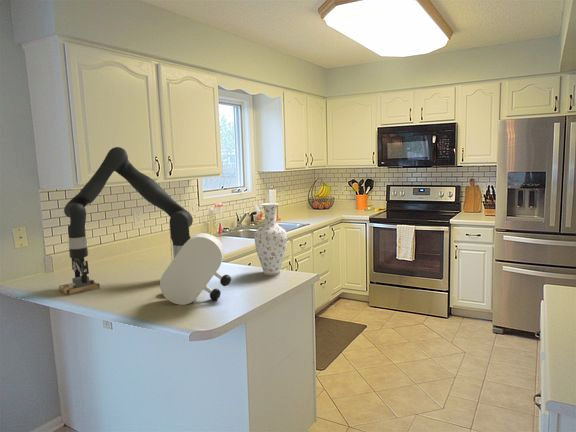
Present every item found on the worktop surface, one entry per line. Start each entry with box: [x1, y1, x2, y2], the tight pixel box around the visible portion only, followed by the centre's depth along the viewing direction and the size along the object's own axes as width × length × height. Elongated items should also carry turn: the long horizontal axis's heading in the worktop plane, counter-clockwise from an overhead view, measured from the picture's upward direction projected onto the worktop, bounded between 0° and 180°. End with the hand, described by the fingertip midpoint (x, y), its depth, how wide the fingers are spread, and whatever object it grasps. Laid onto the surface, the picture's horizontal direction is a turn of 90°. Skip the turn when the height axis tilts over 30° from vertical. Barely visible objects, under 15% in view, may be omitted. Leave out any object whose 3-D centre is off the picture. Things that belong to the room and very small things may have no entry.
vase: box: [254, 202, 288, 276], centre depth 220 cm, size 16×16×35 cm
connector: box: [67, 275, 95, 288], centre depth 203 cm, size 4×11×4 cm, turn 134°
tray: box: [58, 278, 101, 296], centre depth 203 cm, size 11×14×2 cm
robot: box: [159, 232, 232, 306], centre depth 181 cm, size 30×9×24 cm
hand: (81, 281), depth 203 cm, fingers open, 8 cm apart
